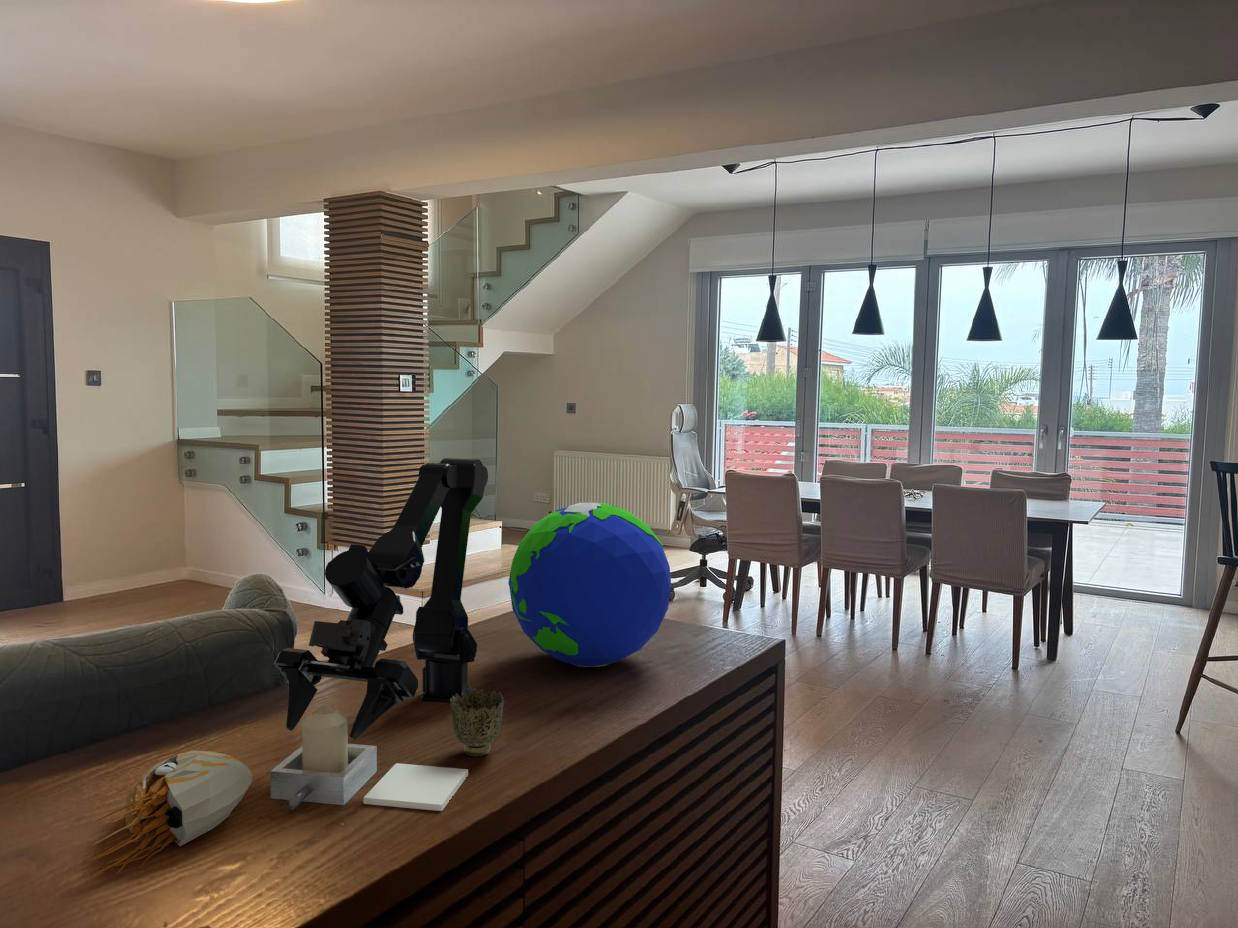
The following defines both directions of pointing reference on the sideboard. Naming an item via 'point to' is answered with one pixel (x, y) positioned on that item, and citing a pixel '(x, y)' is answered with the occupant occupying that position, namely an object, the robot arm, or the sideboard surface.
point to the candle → (325, 740)
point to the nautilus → (181, 800)
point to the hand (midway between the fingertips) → (320, 733)
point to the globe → (590, 584)
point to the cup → (477, 720)
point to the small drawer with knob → (322, 778)
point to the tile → (416, 787)
